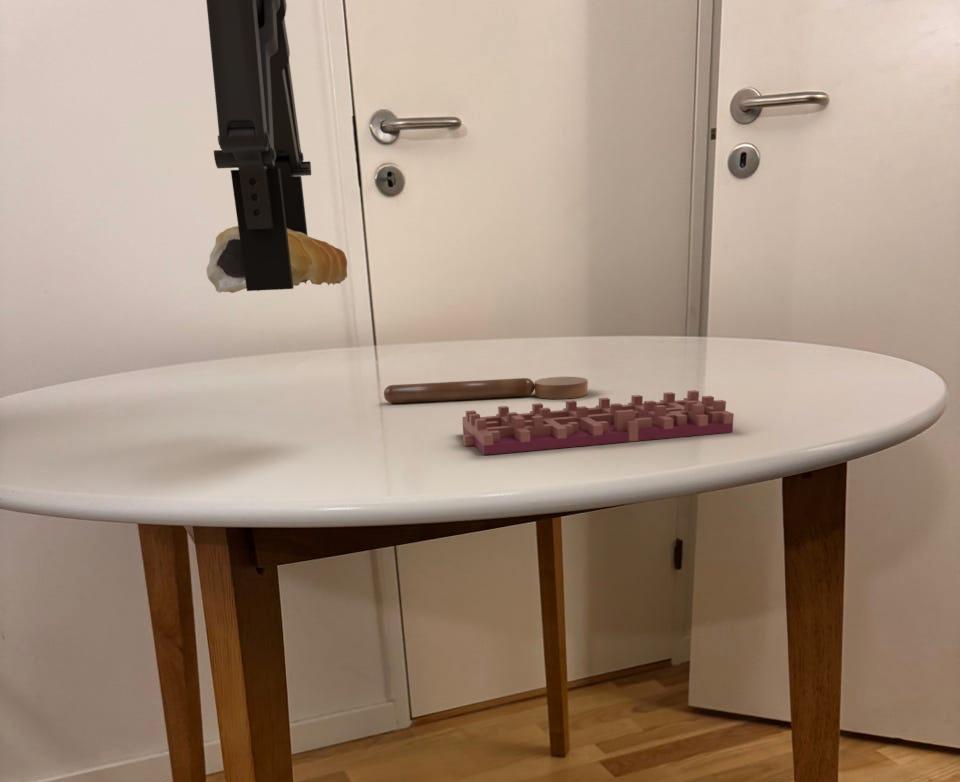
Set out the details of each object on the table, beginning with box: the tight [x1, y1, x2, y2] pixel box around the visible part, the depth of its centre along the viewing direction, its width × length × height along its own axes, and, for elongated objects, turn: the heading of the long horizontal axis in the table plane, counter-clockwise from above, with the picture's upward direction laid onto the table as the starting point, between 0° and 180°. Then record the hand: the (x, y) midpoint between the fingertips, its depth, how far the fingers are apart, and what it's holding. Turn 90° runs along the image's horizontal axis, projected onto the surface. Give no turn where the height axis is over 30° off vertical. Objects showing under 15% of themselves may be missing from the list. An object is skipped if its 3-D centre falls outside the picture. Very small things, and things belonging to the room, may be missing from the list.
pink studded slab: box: [461, 389, 735, 456], centre depth 68 cm, size 7×19×2 cm, turn 102°
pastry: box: [206, 225, 348, 294], centre depth 61 cm, size 9×7×4 cm
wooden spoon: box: [383, 376, 589, 404], centre depth 84 cm, size 18×5×2 cm, turn 93°
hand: (282, 284), depth 61 cm, fingers closed on pastry, 9 cm apart
